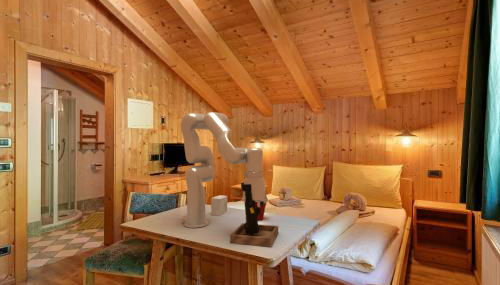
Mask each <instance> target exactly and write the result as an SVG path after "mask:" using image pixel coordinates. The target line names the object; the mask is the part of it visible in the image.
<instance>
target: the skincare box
mask: <svg viewBox="0 0 500 285" xmlns="http://www.w3.org/2000/svg"><path fill="white" fill-rule="evenodd" d="M210 199H211V202H210V207H211V208H210V215H211V216H222V215H224V214H226V213H228V196H227V195H220V194H219V195H217V196H213V197H211V198H210Z"/></svg>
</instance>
